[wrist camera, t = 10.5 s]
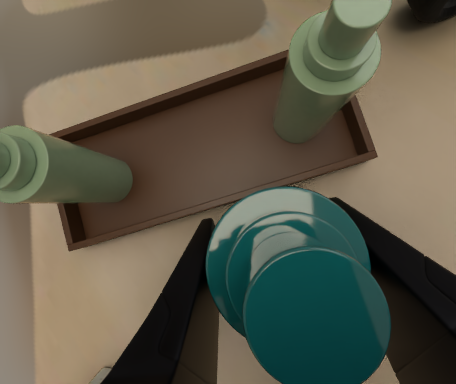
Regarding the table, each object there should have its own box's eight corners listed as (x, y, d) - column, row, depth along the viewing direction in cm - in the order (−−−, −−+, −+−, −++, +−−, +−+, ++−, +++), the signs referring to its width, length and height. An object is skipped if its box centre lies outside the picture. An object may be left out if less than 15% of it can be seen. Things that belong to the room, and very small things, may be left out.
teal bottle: (312, 221, 16) (551, 281, 3) (275, 278, 16) (371, 559, 3) (254, 185, 16) (267, 116, 4) (219, 240, 16) (113, 353, 4)
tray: (364, 161, 21) (378, 156, 19) (86, 246, 23) (68, 251, 21) (325, 51, 22) (333, 33, 20) (60, 143, 24) (40, 137, 22)
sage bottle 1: (139, 192, 22) (1, 178, 10) (98, 210, 23) (-85, 219, 10) (123, 150, 23) (-29, 86, 10) (83, 168, 23) (-112, 127, 11)
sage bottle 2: (331, 131, 21) (449, 25, 8) (284, 151, 21) (331, 77, 9) (310, 86, 21) (393, -77, 9) (264, 107, 22) (282, -23, 9)
